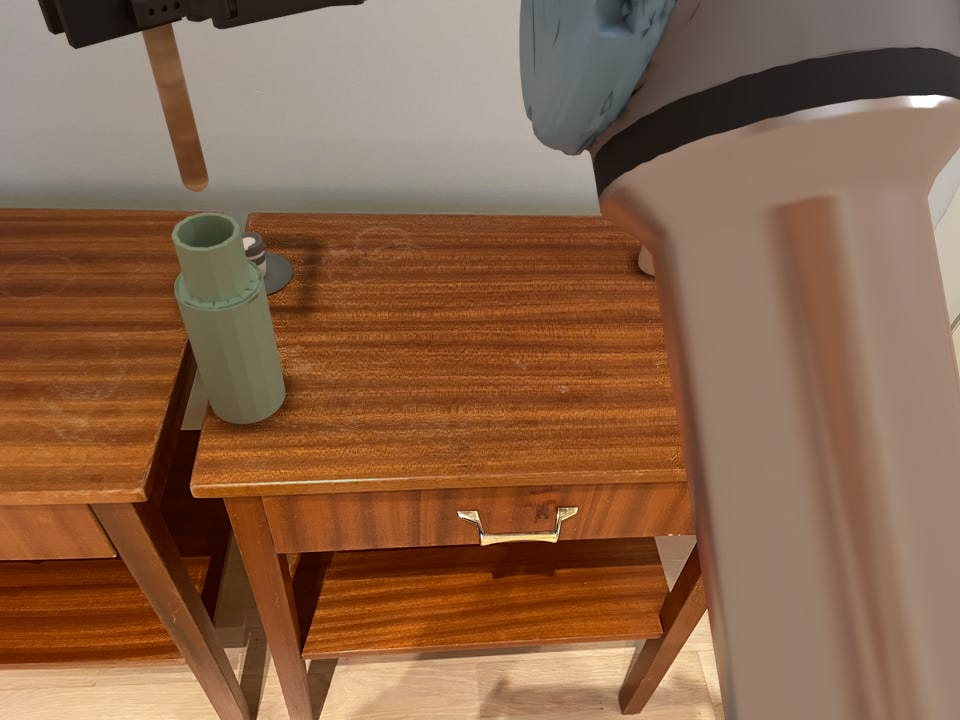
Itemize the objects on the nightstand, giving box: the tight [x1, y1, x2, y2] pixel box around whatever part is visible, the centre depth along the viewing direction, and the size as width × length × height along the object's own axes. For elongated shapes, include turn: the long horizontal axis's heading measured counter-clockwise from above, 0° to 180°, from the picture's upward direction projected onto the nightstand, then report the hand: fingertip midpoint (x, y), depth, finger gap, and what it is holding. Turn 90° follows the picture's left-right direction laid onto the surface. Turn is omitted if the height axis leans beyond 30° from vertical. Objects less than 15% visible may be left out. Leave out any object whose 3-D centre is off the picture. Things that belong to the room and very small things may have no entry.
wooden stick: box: [141, 23, 210, 193], centre depth 45 cm, size 2×3×21 cm
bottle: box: [170, 211, 286, 425], centre depth 62 cm, size 7×7×19 cm
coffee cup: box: [241, 231, 294, 296], centre depth 79 cm, size 12×12×5 cm
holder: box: [637, 243, 655, 277], centre depth 83 cm, size 4×4×9 cm
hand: (53, 14), depth 40 cm, fingers closed on wooden stick, 2 cm apart
